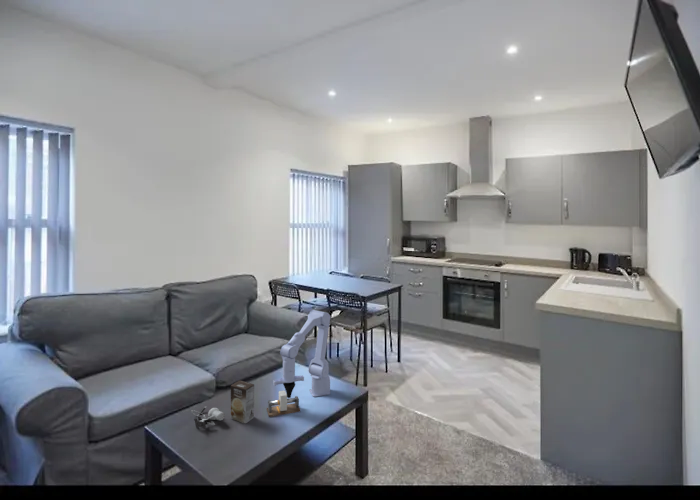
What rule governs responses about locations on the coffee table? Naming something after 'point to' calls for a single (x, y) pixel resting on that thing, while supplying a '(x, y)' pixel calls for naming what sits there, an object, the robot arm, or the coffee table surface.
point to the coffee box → (242, 401)
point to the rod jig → (290, 409)
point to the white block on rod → (283, 400)
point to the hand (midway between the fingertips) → (288, 397)
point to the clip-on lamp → (212, 415)
